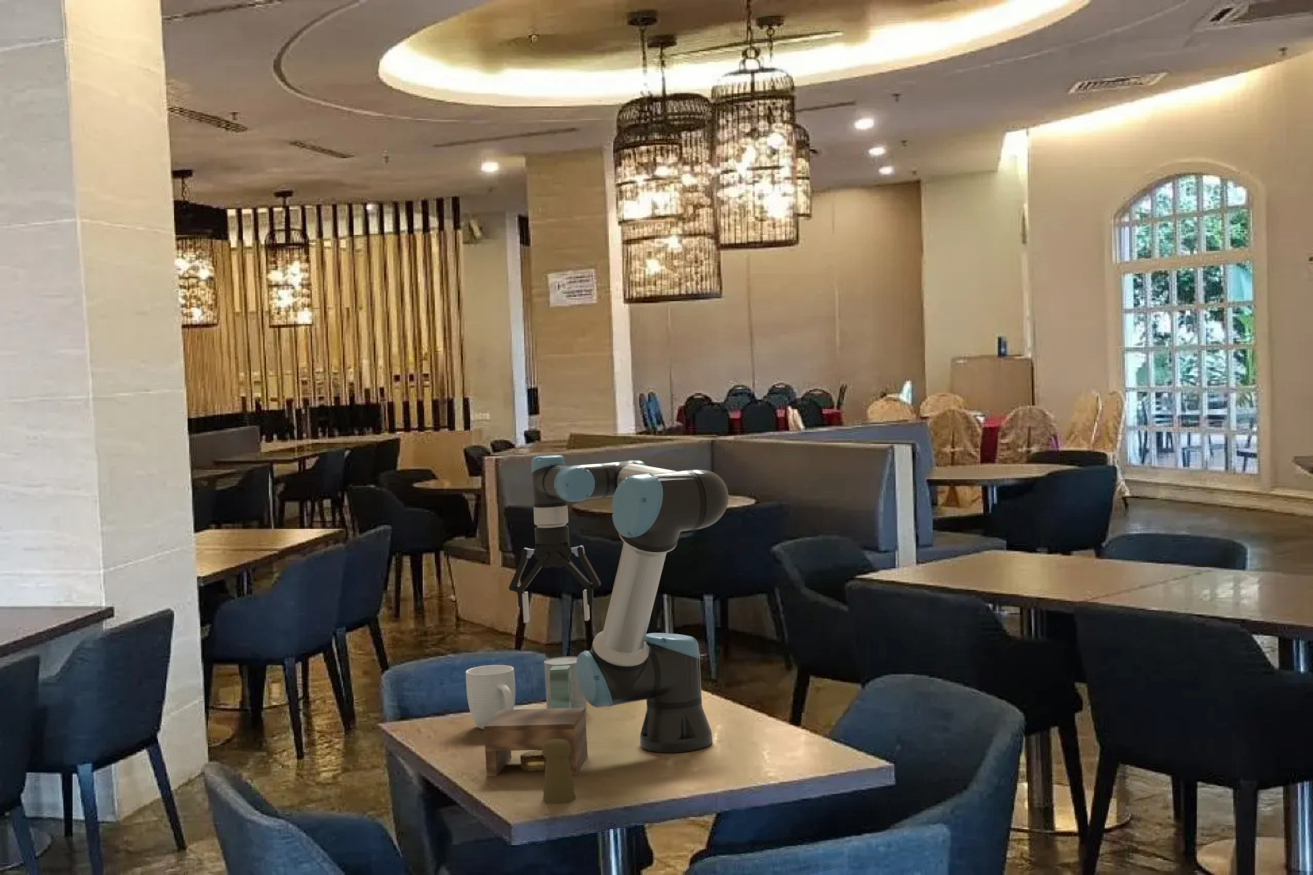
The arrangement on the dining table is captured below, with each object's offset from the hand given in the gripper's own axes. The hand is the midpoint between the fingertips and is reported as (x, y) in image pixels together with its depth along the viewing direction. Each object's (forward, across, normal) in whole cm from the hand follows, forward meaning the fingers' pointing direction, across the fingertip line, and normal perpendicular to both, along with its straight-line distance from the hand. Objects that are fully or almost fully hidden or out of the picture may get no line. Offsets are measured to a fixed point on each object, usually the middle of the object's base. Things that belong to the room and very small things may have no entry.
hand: (556, 621), depth 321 cm
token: (+25, 0, +29) cm, 38 cm away
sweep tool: (+25, 0, +10) cm, 26 cm away
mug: (+25, +16, -4) cm, 30 cm away
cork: (+25, -8, +53) cm, 59 cm away
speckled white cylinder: (+25, +2, -17) cm, 30 cm away
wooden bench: (+24, 0, +29) cm, 38 cm away
